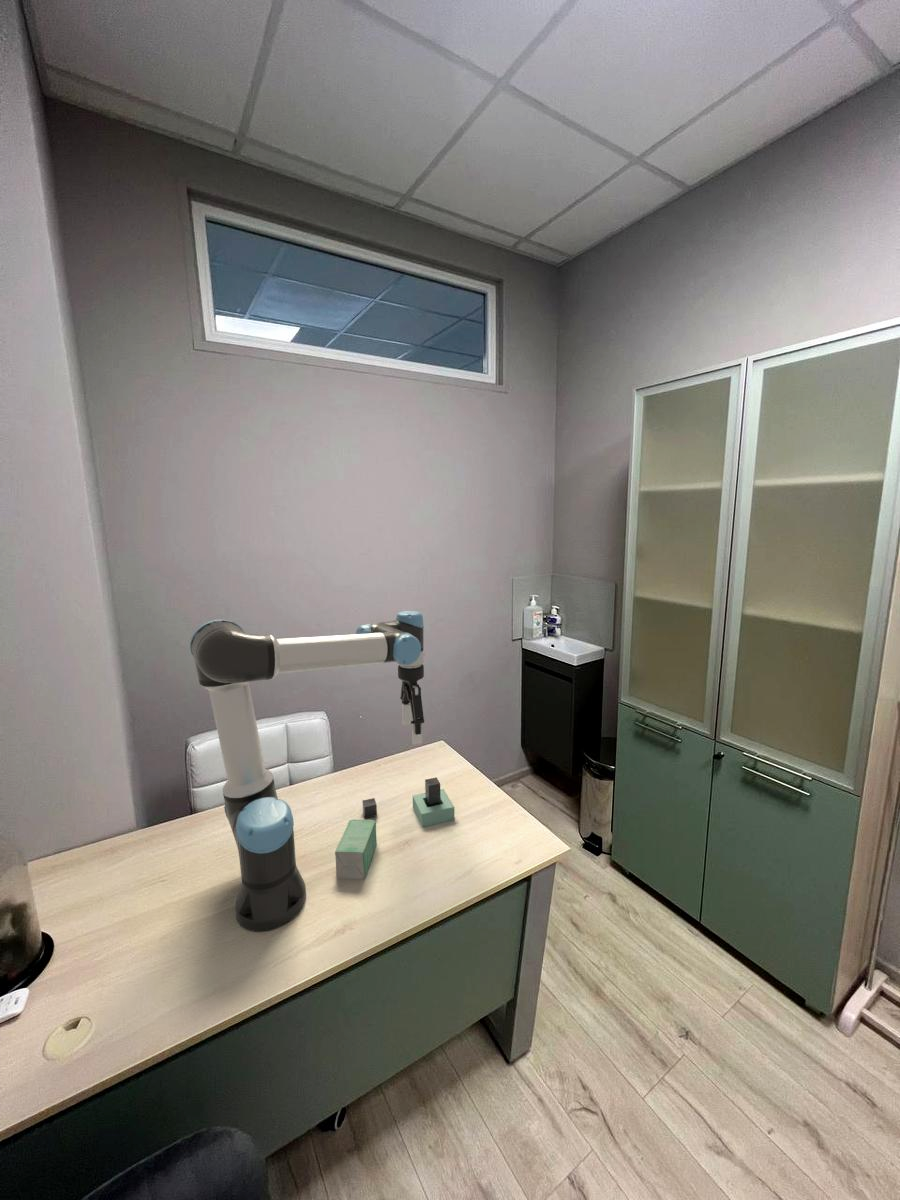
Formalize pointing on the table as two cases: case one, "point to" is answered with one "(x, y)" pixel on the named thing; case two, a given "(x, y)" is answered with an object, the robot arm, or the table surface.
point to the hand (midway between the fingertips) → (412, 733)
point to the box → (356, 849)
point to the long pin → (432, 792)
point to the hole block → (433, 809)
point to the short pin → (369, 808)
